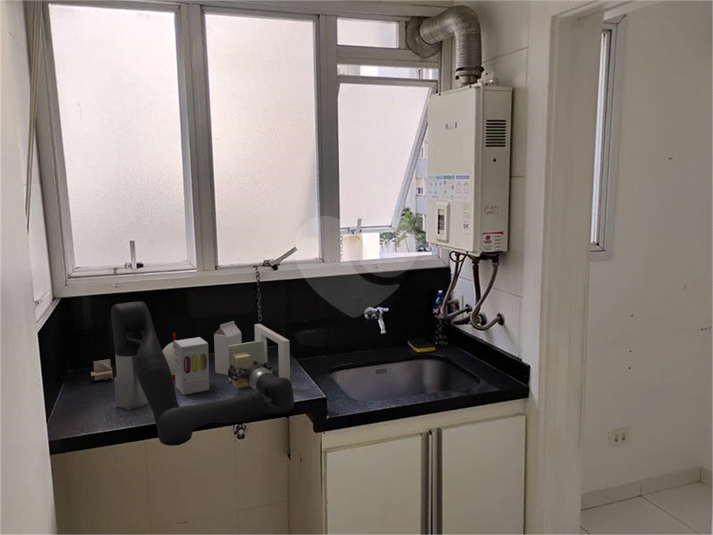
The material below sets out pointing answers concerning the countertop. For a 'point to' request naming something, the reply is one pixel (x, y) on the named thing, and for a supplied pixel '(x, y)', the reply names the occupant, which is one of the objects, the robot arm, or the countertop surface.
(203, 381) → the supplement box
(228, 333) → the milk carton
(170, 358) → the kitchen timer
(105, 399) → the countertop surface
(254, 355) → the door
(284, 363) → the door frame
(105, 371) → the architectural model
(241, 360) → the block
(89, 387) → the countertop surface
